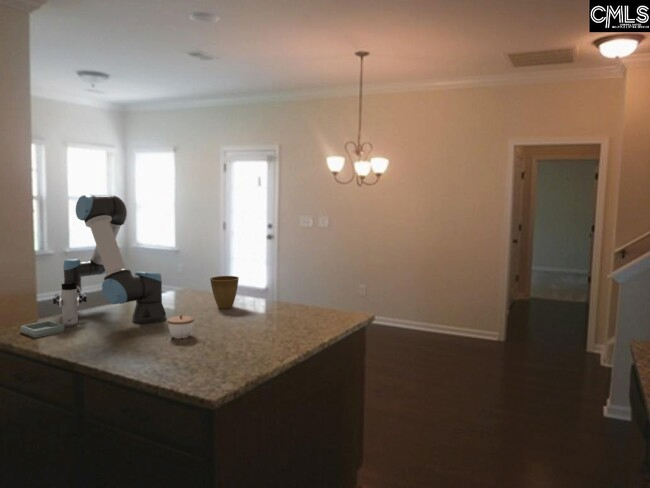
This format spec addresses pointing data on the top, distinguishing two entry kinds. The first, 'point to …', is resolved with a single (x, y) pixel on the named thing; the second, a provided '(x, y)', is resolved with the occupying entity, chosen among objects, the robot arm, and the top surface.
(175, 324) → the lidded jar
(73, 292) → the travel mug
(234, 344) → the top surface
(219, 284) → the plant pot
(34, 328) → the tray
